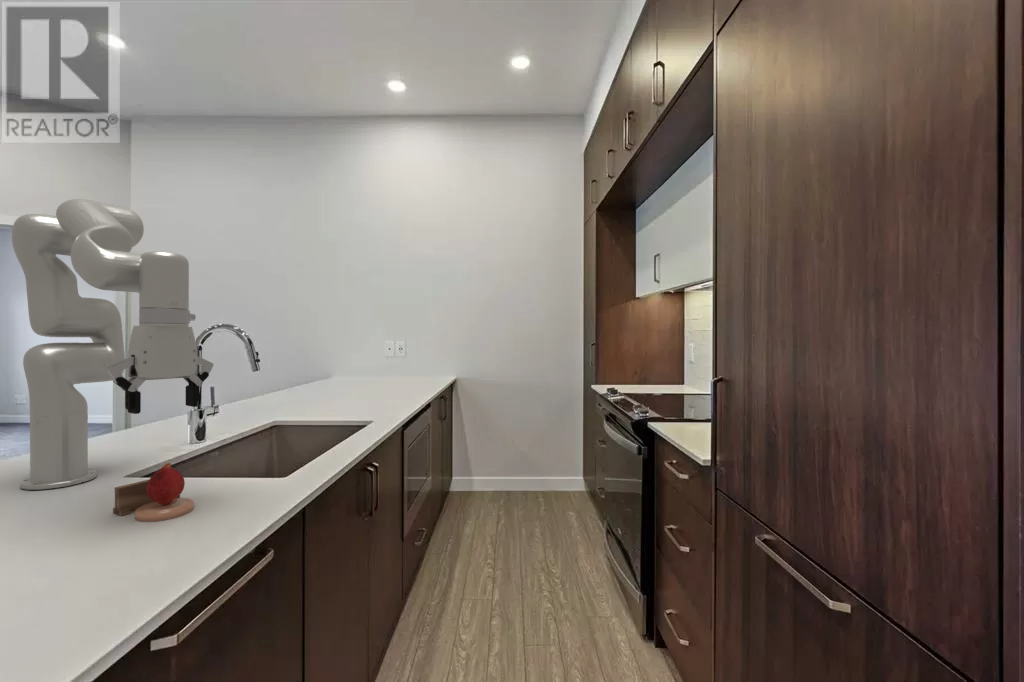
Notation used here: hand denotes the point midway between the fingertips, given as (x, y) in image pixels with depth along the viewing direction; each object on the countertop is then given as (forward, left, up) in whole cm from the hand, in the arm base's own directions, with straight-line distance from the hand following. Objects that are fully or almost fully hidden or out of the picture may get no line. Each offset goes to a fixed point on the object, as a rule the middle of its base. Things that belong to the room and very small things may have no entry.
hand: (164, 409), depth 90 cm
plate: (0, 0, -20) cm, 20 cm away
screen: (-6, 0, -20) cm, 20 cm away
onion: (0, 0, -19) cm, 19 cm away
